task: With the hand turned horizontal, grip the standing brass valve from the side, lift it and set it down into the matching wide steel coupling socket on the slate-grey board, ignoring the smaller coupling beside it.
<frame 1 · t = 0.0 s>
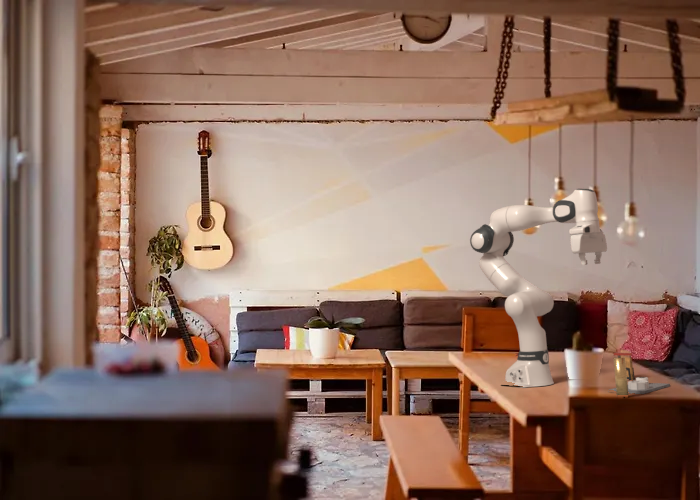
hand: (591, 264, 334), 48 cm above the table, tool pointing down, fingers open, 8 cm apart
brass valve: (622, 397, 304), on the table
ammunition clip: (627, 379, 351), on the table
coupling board: (639, 389, 320), on the table
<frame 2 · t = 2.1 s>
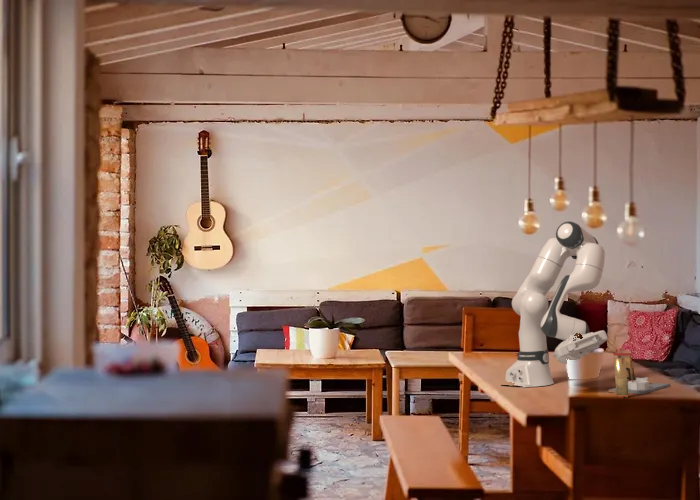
hand: (587, 340, 313), 20 cm above the table, tool horizontal, fingers open, 8 cm apart
nothing on the table moved.
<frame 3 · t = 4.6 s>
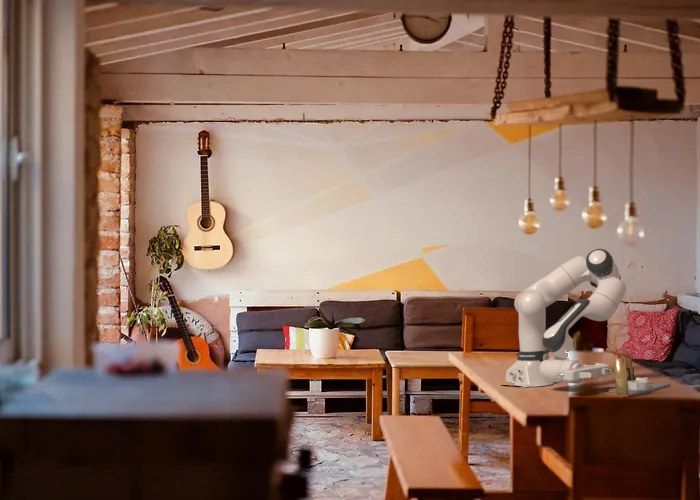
hand: (601, 373, 312), 8 cm above the table, tool horizontal, fingers open, 8 cm apart
nothing on the table moved.
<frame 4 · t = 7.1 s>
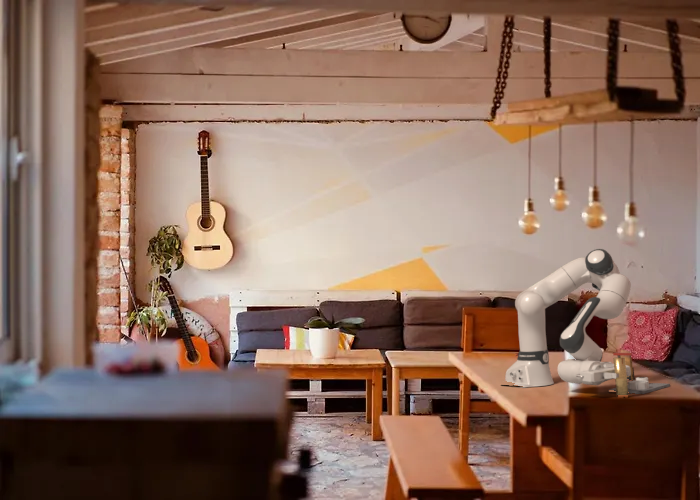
hand: (622, 374, 304), 8 cm above the table, tool horizontal, fingers closed on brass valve, 4 cm apart
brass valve: (622, 397, 304), on the table, touching gripper
everything else where it was.
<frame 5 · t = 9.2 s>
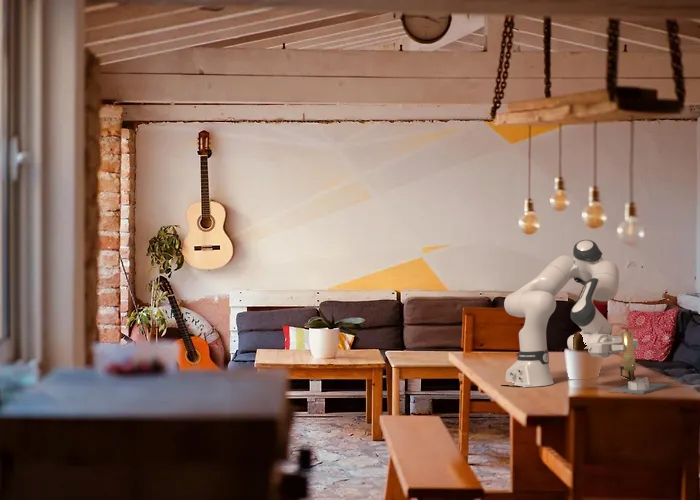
hand: (630, 346, 312), 17 cm above the table, tool horizontal, fingers closed on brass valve, 4 cm apart
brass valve: (629, 370, 312), point 8 cm above the table, touching gripper
everything else where it was.
when the fingers open (10 cm above the table, at t = 11.5 s): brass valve stays where it is, resting on coupling board.
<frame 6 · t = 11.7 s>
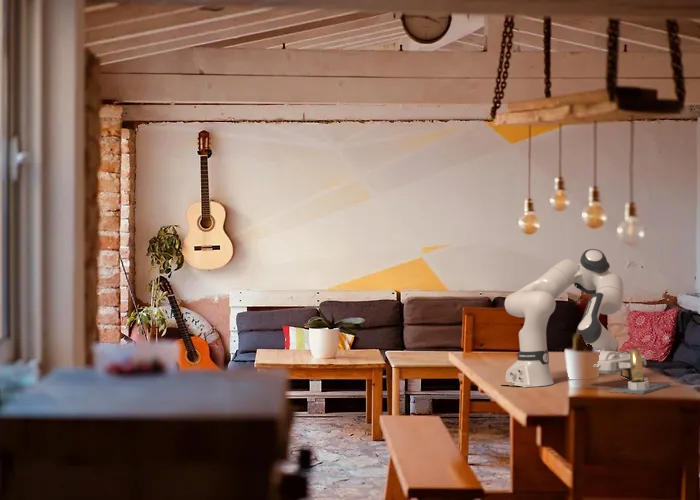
hand: (638, 364, 315), 10 cm above the table, tool horizontal, fingers open, 6 cm apart
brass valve: (638, 388, 316), point 1 cm above the table, touching coupling board
everything else where it was.
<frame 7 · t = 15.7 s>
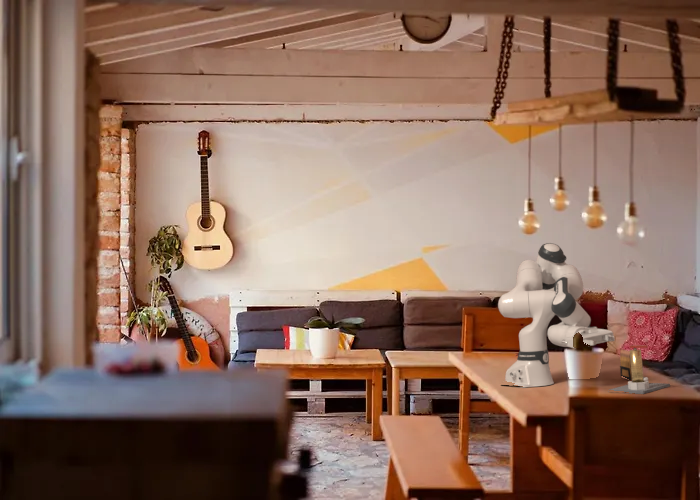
hand: (603, 341, 327), 18 cm above the table, tool horizontal, fingers open, 8 cm apart
nothing on the table moved.
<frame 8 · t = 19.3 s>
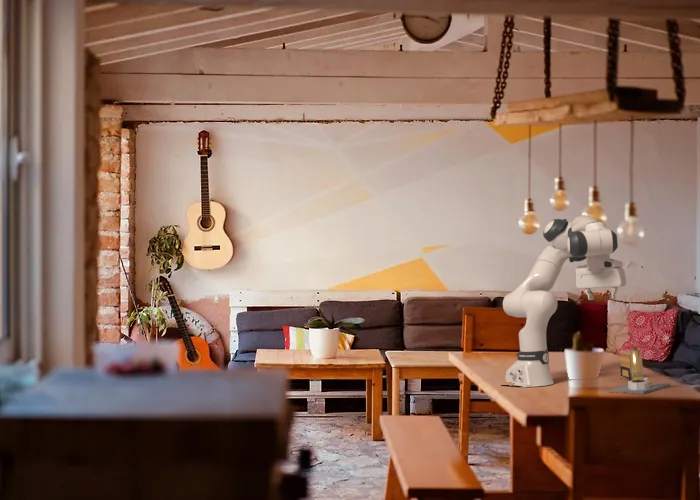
hand: (601, 299, 331), 34 cm above the table, tool pointing down, fingers open, 8 cm apart
nothing on the table moved.
at the end: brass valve 0.0 cm from the target spot on the coupling board, point 1.0 cm above the coupling board's base; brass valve tilted 0°; the gripper is holding nothing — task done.
